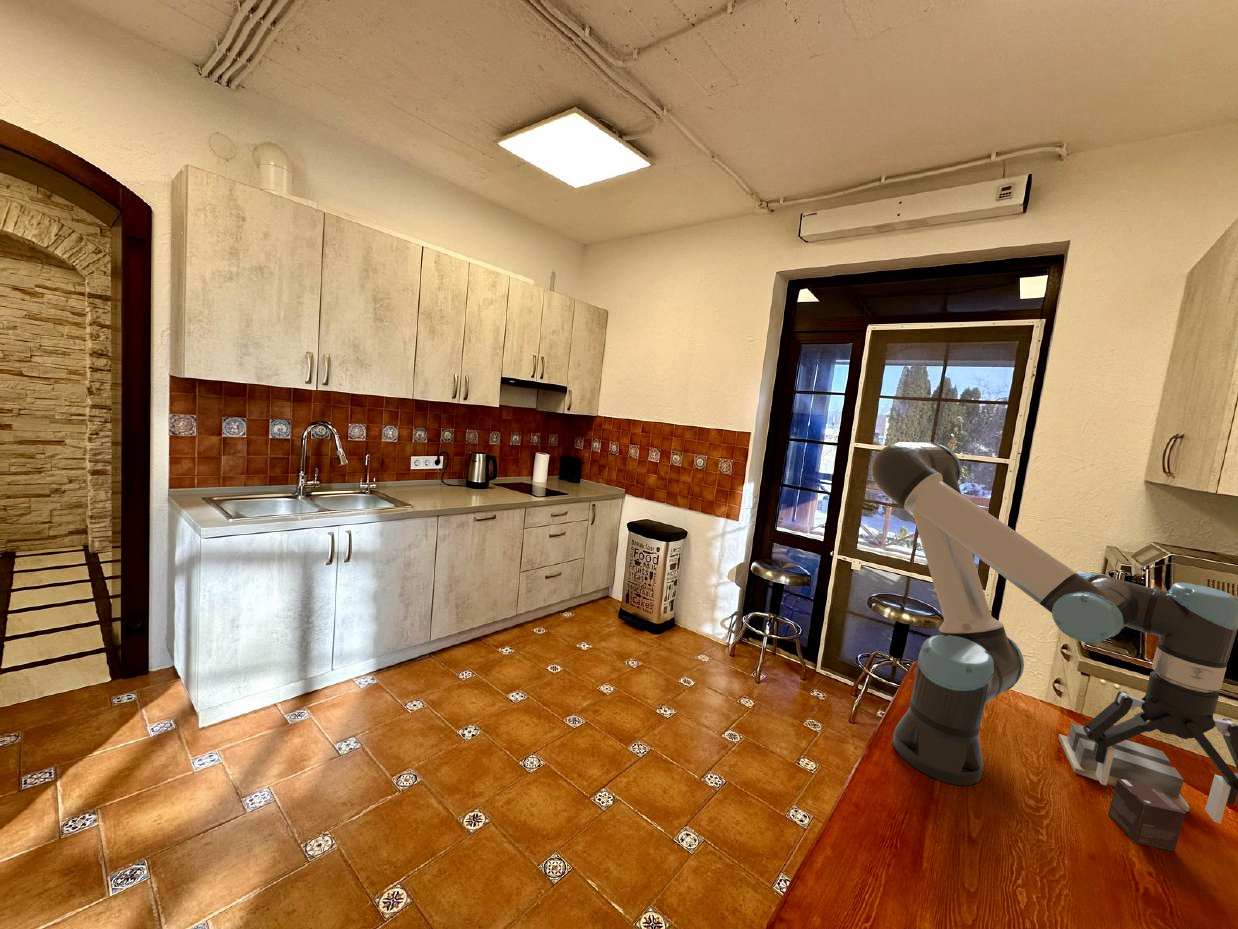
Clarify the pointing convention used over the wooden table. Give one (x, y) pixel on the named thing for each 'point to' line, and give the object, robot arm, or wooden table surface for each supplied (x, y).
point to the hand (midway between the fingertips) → (1154, 798)
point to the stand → (1125, 764)
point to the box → (1146, 814)
